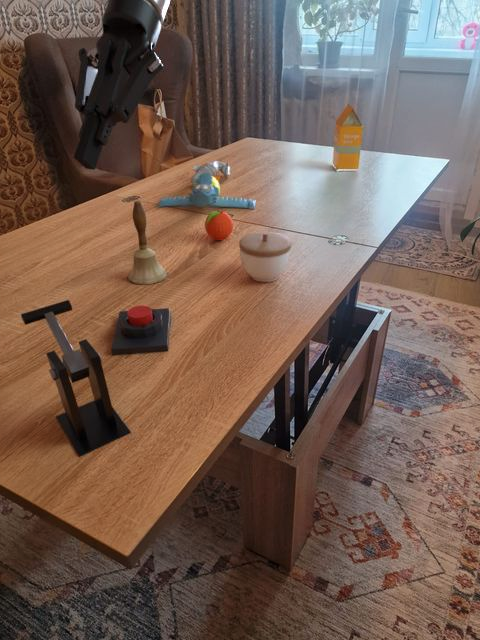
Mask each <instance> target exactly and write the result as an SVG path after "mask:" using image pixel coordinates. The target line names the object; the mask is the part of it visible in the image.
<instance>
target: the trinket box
mask: <svg viewBox="0 0 480 640" xmlns="http://www.w3.org/2000/svg"><path fill="white" fill-rule="evenodd" d="M238 246H239V253H240V262H241V264H242V267H243V269H244V271H245V272H246V273H247V274H248V275H249V276H250V277H251V279H253V280H254V281H256V282H260V283H270V282H274V281H276V280H278V279H280V276H282V275H283V274H284V273H285V271H286V270H287V268H288V266H289V263H290V261H291V253H292V251H291V250H292V239H291V238H290V237H288V236H287V235H285V234H282V233H279V232H274V231H256V232H252V233H249V234H246V235H244V236H242V237H241V238H240V239H239V245H238Z"/></svg>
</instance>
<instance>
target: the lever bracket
mask: <svg viewBox="0 0 480 640" xmlns="http://www.w3.org/2000/svg"><path fill="white" fill-rule="evenodd" d="M78 346H79V349H80V351H81V353H82V354H83V356H84V358H85V360H86V362H87V364H88V365H89V373H90V376H89V377H87V378H88V381H89V385H90V389H91V392H92V396H93V400H91V401H90V402H87V403H84V404H82V405H78V402H77V398H76V396H75V392H74V389H73V385H72V381H71V379H70V377H69V375H68V372H67V369H66V367H65V365H64V364H63V360H61V359H62V358H60V357H59V355H58V353H57V352H56V351H55V350H52V351H48V352H46V353H45V355H46V357H47V361H48V363H49V367H50V369H48V373H49V375H50V377H51V379H52V381H54V382H55V385H56V389H57V390H58V394H59V398H60V400H61V403H62V406H63V409H64V412H63V413H61V414H58V415H56V416H55V418H56V420H57V422H58V424H59V425H60V427H61V429H62V431H63V432H64V433H65V435H66V437H67V439H68V440H69V443H70V444H71V446H72V448H73V449H74V451H75V453H76V454H77V456H78V457H79V458H81V457H83V456H85V455H87V454H89V453H92V452H94V451H96V450H98V449H100V448H102V447H105V446H106V445H109V444H110V443H113V442H115V441H117V440H119V439H122V438H124V437H125V436H128V435H130V434H131V433H132V431H131V430H130V428H129V427H128V426H127V424H126V423H125V421H124V420H123V419H122V418H121V416H120V415H119V413H118V412H117V411H116V409H115V408H114V407H113V405H112V399H111V397H110V393H109V392H110V391H109V388H108V385H107V379H106V377H105V371H104V369H103V365H102V361H103V360H102V357H101V354H100V353H99V352H98V351H97V350H96V349H95V348H94V346H93V345H92V344H91V343H90V342H89V341H88V339H82V340H79V341H78Z"/></svg>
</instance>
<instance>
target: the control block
mask: <svg viewBox="0 0 480 640" xmlns="http://www.w3.org/2000/svg"><path fill="white" fill-rule="evenodd" d="M151 310H152V316H153V321H152V322H150V323H148V324H146V325H140V326H134V325H131V324H130V323H129V320H128V315H127V312H128V310H120V311H119V312H118V316H117V321H116V324H115V325H116V326H115V330H114V334H113V339H112V343H111V348H110V351H111V356H122V355H124V356H125V355H137V354H139V355H140V354H150V353H152V354H153V353H164V352H169V349H170V348H169V347H170V331H171V330H170V329H171V327H172V313H171V308H170V307H167V308H166V307H165V308H151Z"/></svg>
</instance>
